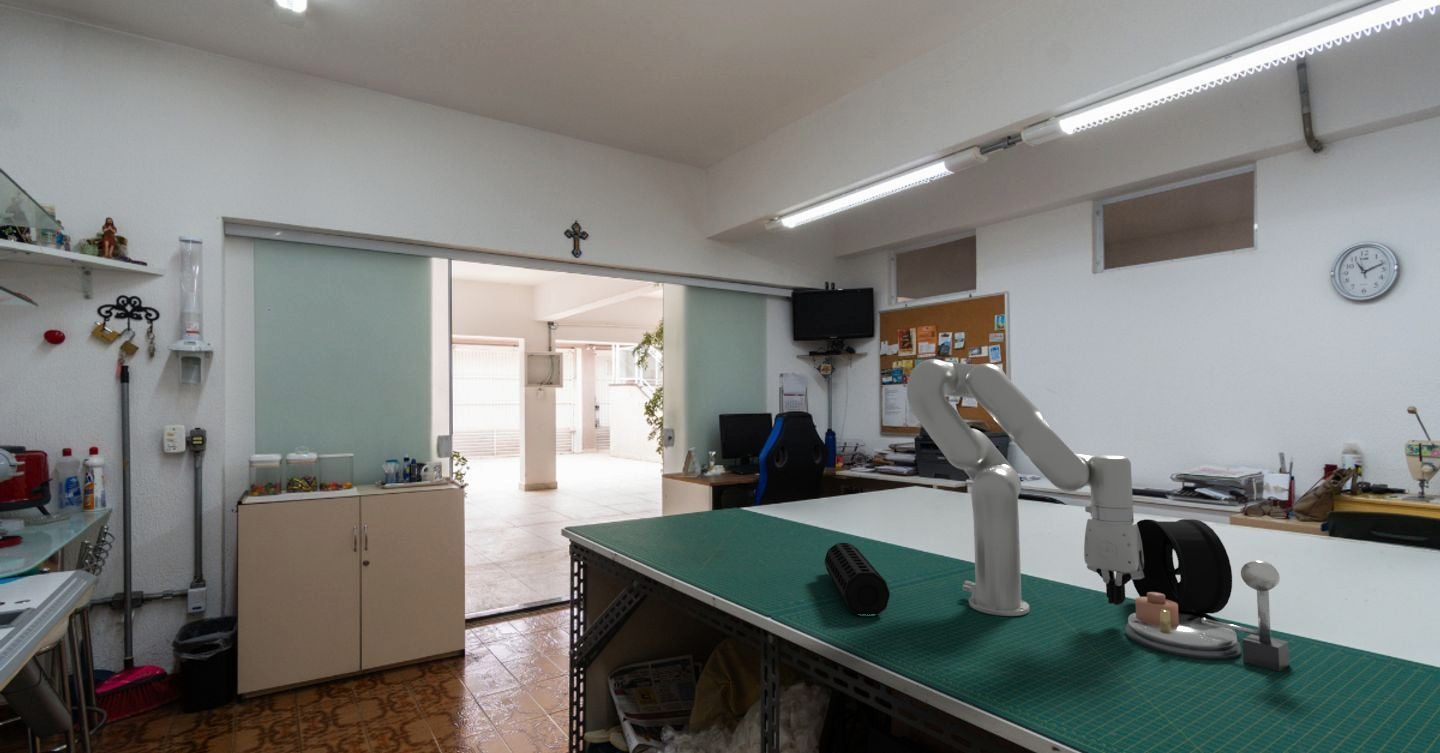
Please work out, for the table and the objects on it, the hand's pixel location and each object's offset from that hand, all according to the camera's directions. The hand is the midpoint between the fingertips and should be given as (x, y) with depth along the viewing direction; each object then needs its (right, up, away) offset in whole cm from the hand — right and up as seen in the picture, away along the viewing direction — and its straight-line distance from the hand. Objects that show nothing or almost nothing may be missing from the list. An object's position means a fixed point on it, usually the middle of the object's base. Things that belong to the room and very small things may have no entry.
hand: (1116, 602), depth 133 cm
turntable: (+6, -2, -10) cm, 12 cm away
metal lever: (+12, -4, -18) cm, 21 cm away
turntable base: (+6, -4, -10) cm, 12 cm away
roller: (-50, -6, +24) cm, 56 cm away
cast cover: (+4, -1, -6) cm, 8 cm away
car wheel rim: (+19, -5, +8) cm, 21 cm away
